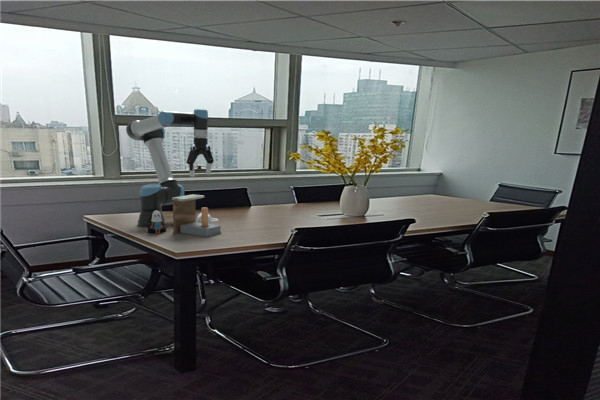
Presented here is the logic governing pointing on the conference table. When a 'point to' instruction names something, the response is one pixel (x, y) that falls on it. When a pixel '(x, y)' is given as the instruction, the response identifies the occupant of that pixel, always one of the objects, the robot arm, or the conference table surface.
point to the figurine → (156, 224)
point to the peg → (204, 217)
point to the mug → (210, 220)
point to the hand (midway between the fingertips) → (200, 175)
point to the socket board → (199, 229)
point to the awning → (184, 210)
